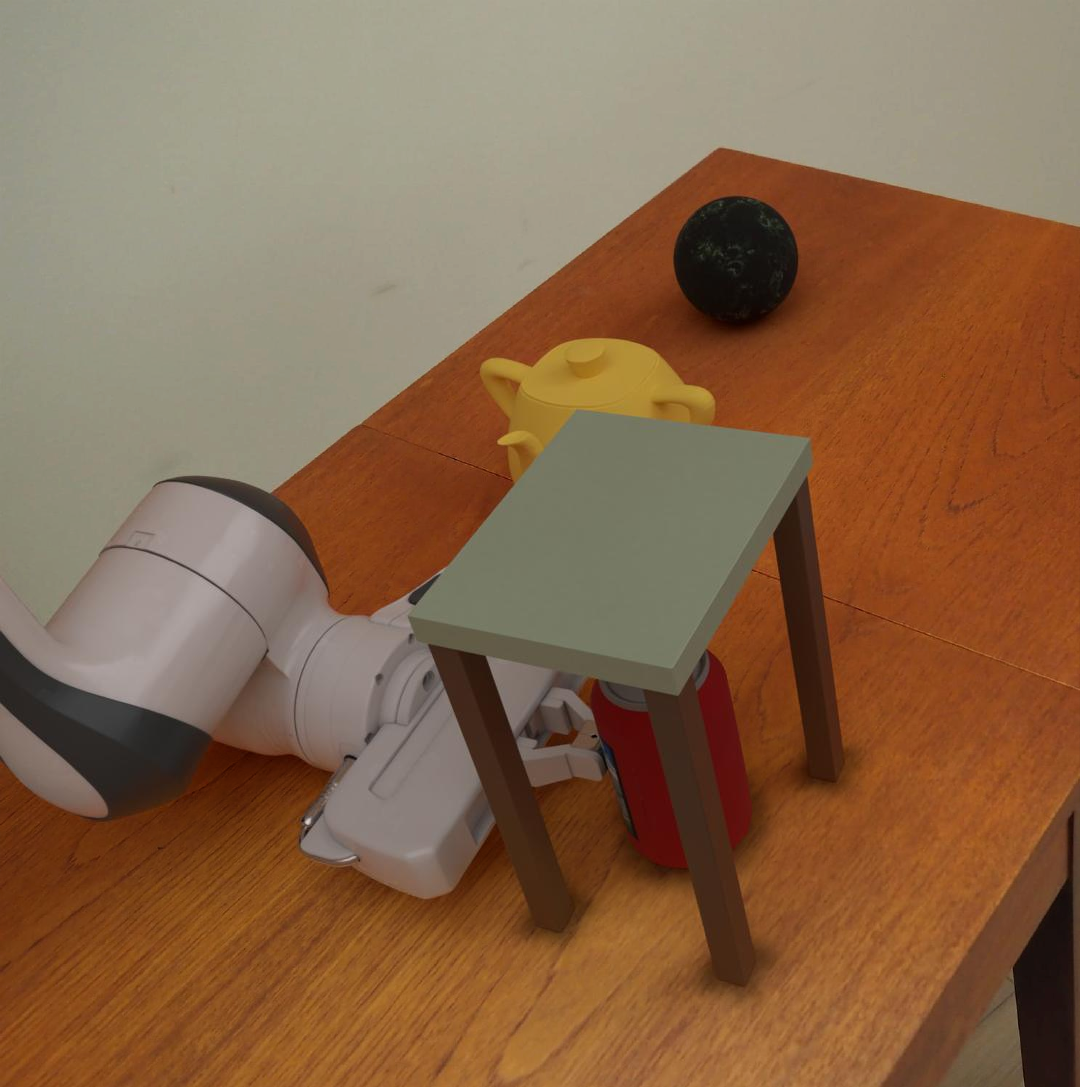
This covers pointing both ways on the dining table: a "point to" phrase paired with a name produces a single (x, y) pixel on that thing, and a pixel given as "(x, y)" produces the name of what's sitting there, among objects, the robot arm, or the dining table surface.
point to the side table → (633, 622)
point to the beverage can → (641, 767)
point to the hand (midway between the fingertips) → (613, 751)
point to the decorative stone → (736, 259)
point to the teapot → (587, 392)
